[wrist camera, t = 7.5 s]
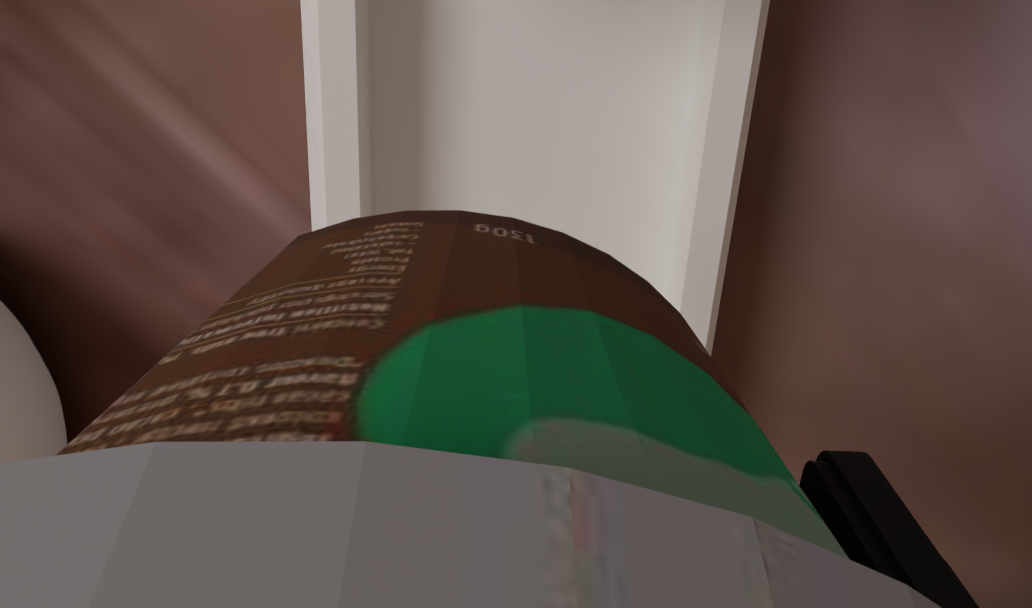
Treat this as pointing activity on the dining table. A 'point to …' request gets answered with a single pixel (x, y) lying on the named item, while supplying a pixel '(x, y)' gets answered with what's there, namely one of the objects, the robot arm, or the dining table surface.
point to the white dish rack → (543, 122)
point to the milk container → (26, 396)
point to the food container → (428, 448)
